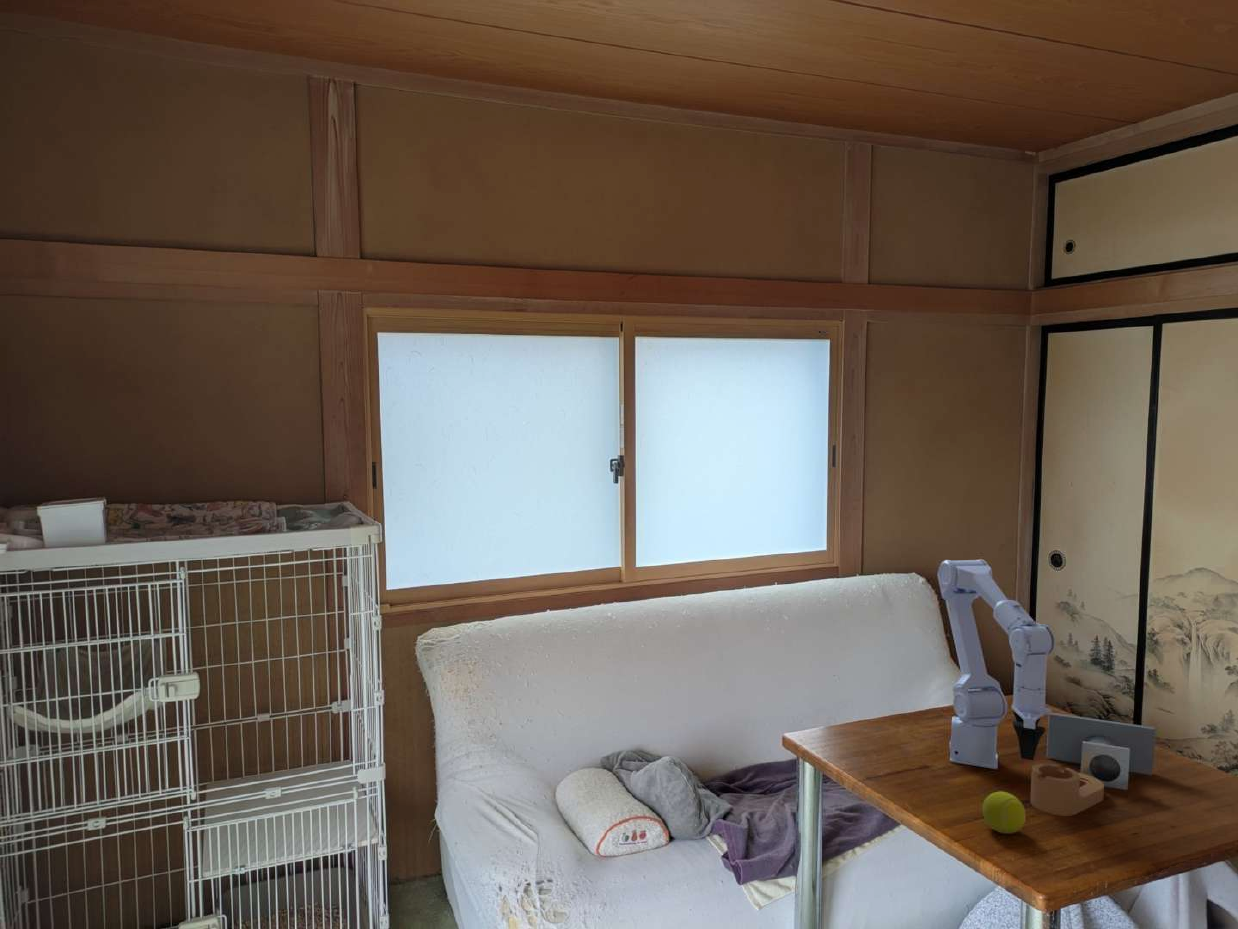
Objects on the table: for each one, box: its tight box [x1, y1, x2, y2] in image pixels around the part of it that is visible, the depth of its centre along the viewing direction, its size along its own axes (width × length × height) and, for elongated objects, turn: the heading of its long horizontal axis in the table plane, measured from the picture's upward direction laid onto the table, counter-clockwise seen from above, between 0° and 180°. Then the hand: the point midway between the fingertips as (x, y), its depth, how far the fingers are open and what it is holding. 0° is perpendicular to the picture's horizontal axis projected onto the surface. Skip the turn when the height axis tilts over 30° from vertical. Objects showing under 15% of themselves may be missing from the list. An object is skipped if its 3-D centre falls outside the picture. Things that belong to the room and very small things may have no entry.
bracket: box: [1029, 762, 1105, 817], centre depth 168 cm, size 18×8×7 cm, turn 124°
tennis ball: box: [981, 791, 1027, 835], centre depth 155 cm, size 7×7×7 cm
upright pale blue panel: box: [1046, 712, 1156, 791], centre depth 179 cm, size 20×12×10 cm, turn 66°
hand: (1026, 751), depth 170 cm, fingers open, 7 cm apart
